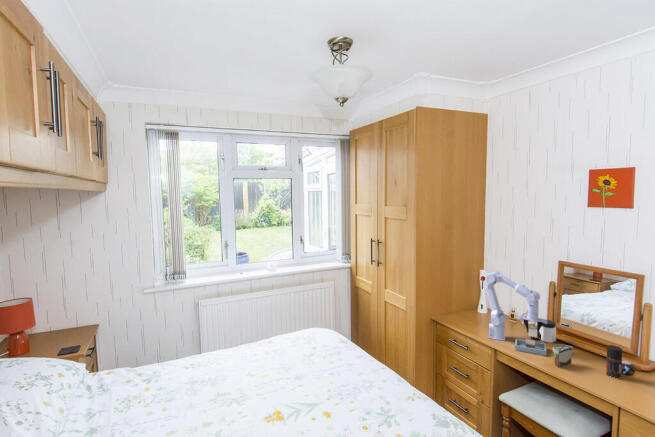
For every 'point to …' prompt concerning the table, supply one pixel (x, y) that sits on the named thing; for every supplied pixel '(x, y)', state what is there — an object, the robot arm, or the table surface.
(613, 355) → the deodorant
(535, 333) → the white cube
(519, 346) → the tote
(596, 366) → the table surface
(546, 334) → the jar
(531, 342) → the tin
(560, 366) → the food container
